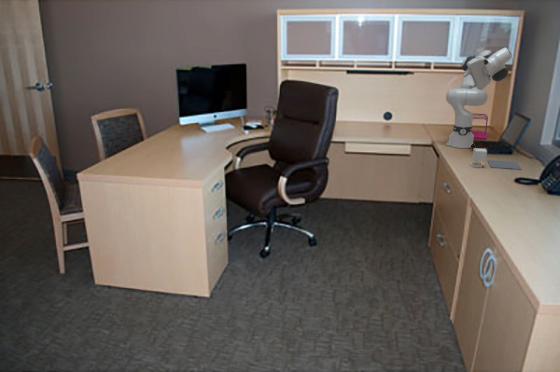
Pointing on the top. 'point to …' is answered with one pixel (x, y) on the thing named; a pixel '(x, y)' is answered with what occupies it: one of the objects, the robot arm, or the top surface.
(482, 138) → the file sorter
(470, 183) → the top surface
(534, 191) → the top surface
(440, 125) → the top surface
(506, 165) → the desk pad
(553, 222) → the top surface
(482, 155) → the security camera
